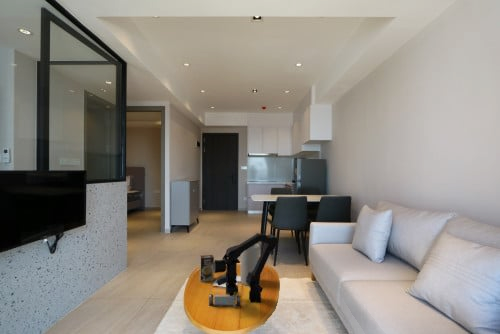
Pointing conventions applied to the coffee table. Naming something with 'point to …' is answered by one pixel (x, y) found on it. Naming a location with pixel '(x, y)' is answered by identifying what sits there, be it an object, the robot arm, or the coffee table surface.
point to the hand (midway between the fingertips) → (231, 298)
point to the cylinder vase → (249, 261)
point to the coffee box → (206, 268)
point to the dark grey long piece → (237, 303)
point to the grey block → (224, 299)
